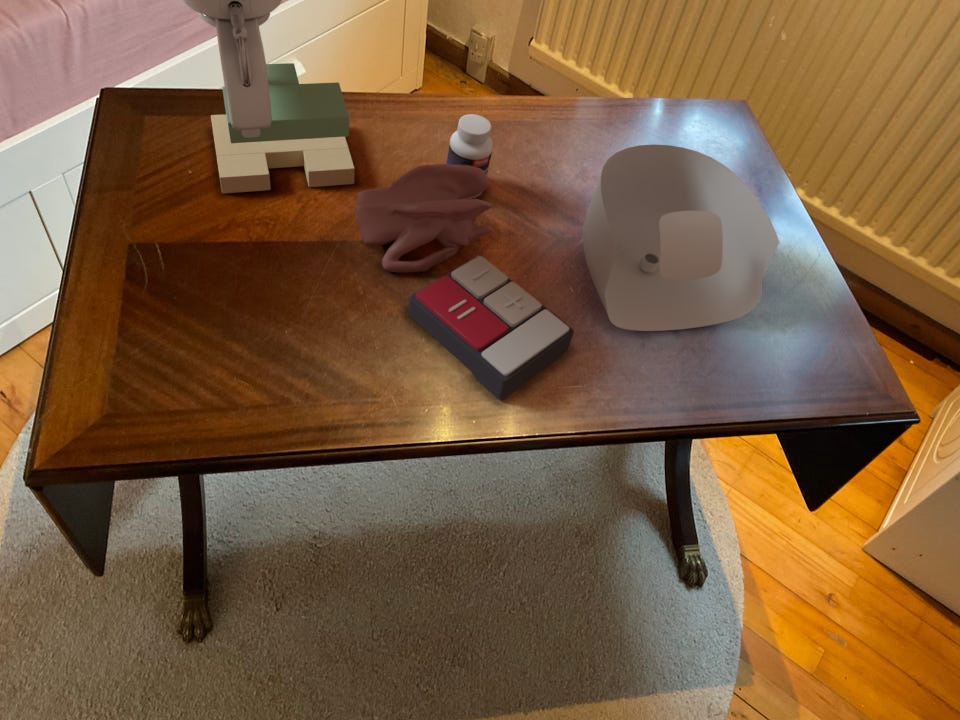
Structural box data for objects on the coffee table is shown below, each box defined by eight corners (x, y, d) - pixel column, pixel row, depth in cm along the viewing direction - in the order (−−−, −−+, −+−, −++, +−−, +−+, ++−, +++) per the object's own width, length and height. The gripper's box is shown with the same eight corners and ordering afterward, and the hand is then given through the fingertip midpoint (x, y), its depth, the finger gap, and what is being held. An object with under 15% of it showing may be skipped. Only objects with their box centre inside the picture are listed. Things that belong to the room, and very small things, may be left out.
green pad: (230, 143, 75) (227, 122, 73) (222, 86, 80) (218, 65, 78) (349, 136, 78) (349, 116, 76) (333, 81, 84) (332, 61, 82)
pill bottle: (471, 206, 95) (483, 143, 87) (435, 188, 96) (444, 124, 88) (491, 184, 98) (504, 122, 90) (456, 167, 99) (467, 104, 91)
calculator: (480, 248, 85) (577, 326, 79) (476, 275, 89) (569, 351, 83) (408, 291, 80) (506, 377, 74) (406, 318, 83) (500, 402, 77)
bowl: (689, 215, 101) (726, 143, 91) (749, 324, 90) (797, 256, 81) (551, 220, 95) (575, 145, 86) (597, 337, 85) (629, 266, 75)
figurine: (388, 297, 89) (508, 267, 85) (349, 239, 81) (478, 203, 77) (394, 227, 96) (504, 196, 92) (358, 168, 88) (476, 131, 84)
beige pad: (222, 193, 89) (219, 177, 87) (213, 131, 96) (210, 114, 94) (354, 184, 94) (354, 168, 92) (337, 125, 100) (337, 109, 98)
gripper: (282, 41, 60) (292, 175, 71) (254, -79, 71) (266, 53, 82) (200, 43, 58) (223, 180, 69) (184, -81, 69) (207, 54, 80)
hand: (246, 110), depth 76 cm, fingers closed on green pad, 6 cm apart
